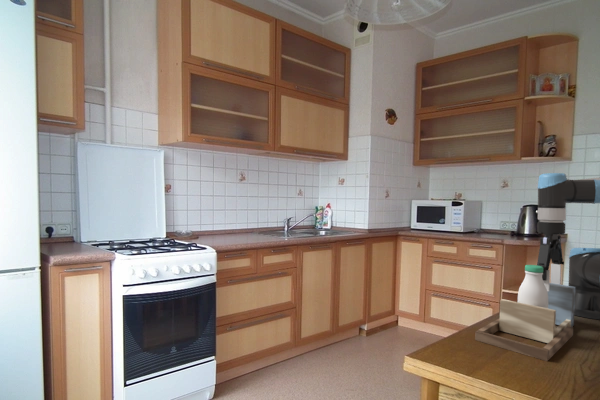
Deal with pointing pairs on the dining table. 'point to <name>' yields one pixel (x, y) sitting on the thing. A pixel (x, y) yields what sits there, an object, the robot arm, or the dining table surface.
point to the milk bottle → (533, 287)
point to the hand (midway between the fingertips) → (550, 287)
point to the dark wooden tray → (533, 351)
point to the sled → (539, 315)
